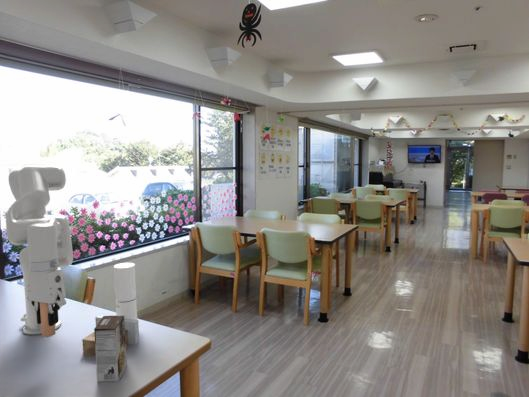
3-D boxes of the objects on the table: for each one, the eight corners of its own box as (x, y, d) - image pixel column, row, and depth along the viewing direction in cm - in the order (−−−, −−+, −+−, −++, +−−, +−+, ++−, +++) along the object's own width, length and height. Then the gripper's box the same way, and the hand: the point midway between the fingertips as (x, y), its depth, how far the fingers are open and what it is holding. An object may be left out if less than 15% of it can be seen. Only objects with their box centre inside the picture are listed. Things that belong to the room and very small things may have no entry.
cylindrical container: (131, 336, 141) (128, 268, 139) (113, 335, 143) (109, 267, 140) (141, 328, 148) (138, 263, 145) (124, 326, 150) (120, 262, 147)
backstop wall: (96, 338, 140) (95, 317, 139) (100, 336, 142) (99, 314, 141) (135, 344, 135) (134, 322, 134) (139, 342, 137) (138, 320, 136)
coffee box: (106, 365, 122) (103, 315, 121) (127, 364, 123) (125, 314, 121) (96, 382, 113) (93, 328, 112) (119, 381, 114) (116, 327, 112)
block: (83, 353, 130) (82, 339, 129) (103, 340, 139) (103, 326, 139) (109, 358, 127) (108, 343, 126) (128, 343, 136) (127, 329, 136)
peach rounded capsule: (39, 336, 119) (36, 298, 118) (48, 330, 123) (46, 293, 121) (48, 338, 118) (46, 299, 116) (58, 332, 122) (55, 295, 120)
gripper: (76, 263, 119) (79, 321, 121) (32, 258, 123) (36, 314, 126) (56, 271, 111) (60, 332, 114) (10, 265, 116) (15, 324, 119)
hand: (48, 322), depth 120 cm, fingers closed on peach rounded capsule, 3 cm apart
